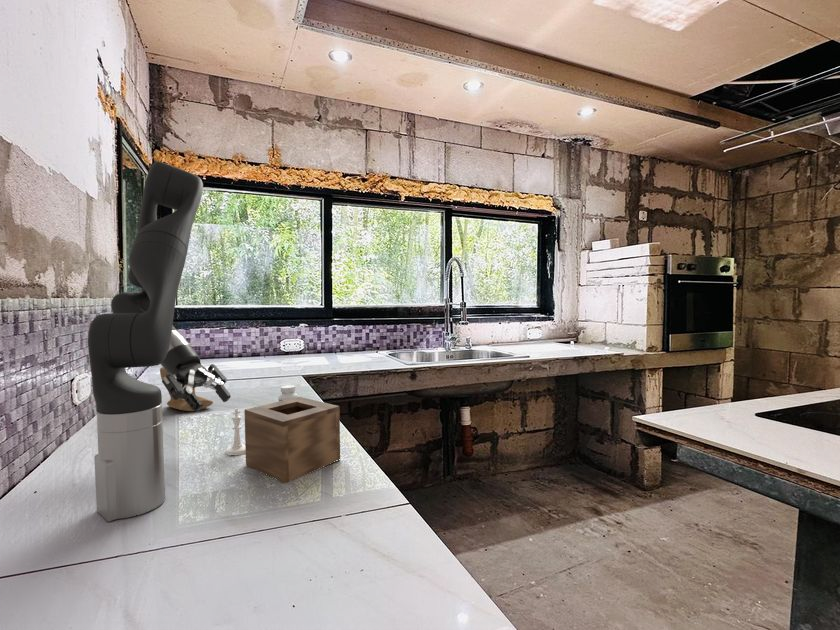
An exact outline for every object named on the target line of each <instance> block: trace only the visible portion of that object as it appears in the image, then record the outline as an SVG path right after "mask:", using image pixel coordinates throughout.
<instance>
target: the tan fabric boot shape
mask: <svg viewBox="0 0 840 630" xmlns="http://www.w3.org/2000/svg"><path fill="white" fill-rule="evenodd" d="M159 373H160V374H159V375H160V379H161V381H162V380H163V379H164V377H165V376H166V375H167V372H166V370H165V369H164V368H163V367H160V369H159ZM179 385H180V386H181V384H180V383H179ZM175 391H176V389H175ZM176 392H177V391H176ZM192 393H194V394H195V395H196V396H197V398H198V399H199V400H200V402H201V403H202V404H203V406H202V408H201V409H200V410H199V411H201V410H203V409H206V408H208V407H210V406H212V405H213V404H214V401H213V400H210V399H208V398H205V397H200V396H198V395H197V394H196V387H195V388H193V389H192ZM168 394H169V397H170V399H169V400H168V401H167V402H166V405H167V406H168V407H169V408H172V409H177V410H179V411H185V412H195V411H194V410H193V409H192V408H191V407H190V406H189V405H188V403H187V402H186V401H185V400H183V399H178V400H175V399H173V397H172V396H171V394H170V393H169V392H168Z"/></svg>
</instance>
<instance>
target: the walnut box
mask: <svg viewBox="0 0 840 630" xmlns="http://www.w3.org/2000/svg"><path fill="white" fill-rule="evenodd" d="M243 410H244V442H245V444H244V445H245V451H246V453H245V466H246V465H247V466H246V467H248V468H251V469H253V470H255V471H257V472H260V473H261V472H262V473H261V474H263V473H264V475H266V474H267V475H266V476H268V475H269V476H268V477H270V476H271V478H272V477H274V478H276V479H277V481H278V480H279V481H278V482H281V483H283V484H286V483H289V482H291V481H293V479H294V480H296V479H298V477H299V478H301V477H303V475H304V476H306V475H308V473H309V474H311V473H313V472H315V471H314V470H316V471H318V470H320V469H319V468H321V467H323V466H326V465H328V464H330V463H332V462H334V461H336V460H339V459H340V460H341V425H340V424H341V422H340V420H341V419H340V418H341V417H340V416H341V415H340V413H341V412H340V405H336V404H332V403H327V402H325V401H319V400H315V399H311V398H306V397H303V396H298V397H297V398H292V399H288V400H284V401H279V400H278V401H276V402H272V403H267V404H263V405H258V406H255V407H249V408H245V409H243ZM328 466H329V465H328ZM326 467H327V466H326ZM323 468H324V467H323ZM317 469H318V470H317ZM321 469H322V468H321ZM312 471H313V472H312ZM310 472H311V473H310ZM274 478H273V479H274ZM295 478H296V479H295ZM276 479H275V480H276ZM290 480H291V481H290Z"/></svg>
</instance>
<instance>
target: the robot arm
mask: <svg viewBox="0 0 840 630" xmlns="http://www.w3.org/2000/svg"><path fill="white" fill-rule="evenodd" d="M203 189H204V183H203V181H202V179H201V177H199V176H198V175H196V174H194V173H193V172H190V171H187V170H184V169H182V168H180V167H177V166H174V165H171V164H168V163H166V162H163V161H160V160H159V161H155V162H153V163H152V164H151V167H150V168H149V170H148V173H147V175H146V179H145V182H144V188H143V192H142V200H141V206H140V212H139V219H138V227H137V234H136V236H135V239H134V241H133V244H132V246H131V247H132V248H131V251H130V253H129V258H128V262H129V271H128V273H127V274H128V275H127V277H128V278H127V279H128V282H130V284H131V285H133V286H135V287H137V288H141V290H137V291H123V292H119V293H116V294H115V295H113V298H112V299H111V302H110V307H111V311H112V312H111V313H102V314H101V313H100V314H99V315H97V316H95V317H94V318H93V320H92V321H91V323H90V326H89V329H88V333H87V336H88V337H87V346H88V347H87V349H88V359H89V364H90V365H89V366H90V373H91V374H90V375H91V385H92V394H93V398H94V402H95V409H96V429H97V430H96V431H97V432H96V433H97V434H96V435H97V447H98V448H97V451H98V453H97V454H95V455H94V456H93V457H94V461H93V462H94V478H95V479H94V480H95V501H96V503H95V504H96V505H95V506H96V511H97V512H98V513H99V514H100V515H101V516H102V518H104V520H106V522H112V521H115V520H118V519H119V520H121V519H127V518H132V517H136V515H137V516H141V515H143V514H145V513H147V512H150V511H153V510H155V509H156V508H158V507H159V506H160V505H162V504H163V503H164V502H165V500H166V481H165V480H166V479H165V453H164V452H165V449H164V429H163V428H164V427H163V426H164V424H163V423H164V422H163V403H162V402H163V400H162V398H163V397H162V396H163V395H162V390H161V388H159V387H158V386H157V385H154V384H151V383H148V382H144V381H141V380H138V379H137V378H134V377H132V376H131V375H130V374H129V373H127V371H126V368H127V369H128V368H147V367H148V368H149V367H150V368H151V367H155V366H159V365H161V366H162V367H163V368H164V369H165V370H166V372H167V375H166V376H165V377H164V379H163V380H162V379H161V382H162V384H163V386H164V387H165V389H166V390H167V393H168V394H169V393H170V394H171V396H172V397H173V399H175V400H178V399H183V400H185V401H186V402H187V403H188V405H189V406H190V407H191V408H192V409H193V410H194V411H193V412H198V411H201V410H202V409H201V408H202V406H203V404H202V403H201V402H200V400H199V399H198V398H197V396H198V395H197V394H196V393H195V394H196V395H195V394H194V393H192V389H193V388H195V389H196V388H201V387H203V388H205V389H209V388H210V389H212V390H213V391H215V393H216V394H217V396H218V397H219V398H220V400H221V401H222V402H223V403H226V402H228V401H229V400H230V398H231V393H230V392H229V391H228V390H227V388H226V387H225V386H224V385H225V384H226V383H227V382H228V378H227V377H226V376H225V375H224V374H223V372H222V371H221V370H220V369H219V368H218V367H217V365H215V364H214V363H211V364H209V366H207V367H206V366H203V364H202V363H201V357H200V356H199V354H198V353H197V352H196V350H194V348H193V347H192V346H191V344H190V343H189V342H188V340H187V339H186V338H185V337H184V336H183V335H182V334H181V333H180V332H179V331H178V330H177V329H176V327H175V326H174V325H173V322H174V316H175V308H176V302H177V295H178V291H179V290H178V289H179V286H180V283H181V279H182V275H183V271H184V267H185V264H186V259H187V256H188V251H189V250H188V249H189V244H190V238H191V233H192V228H193V225H194V222H195V218H196V215H197V212H198V209H199V206H200V204H201V199H202V195H203V191H204V190H203ZM158 205H160V206H163V207H166V208H169V209H171V210H175V211H173V212H172V213H170V214H167V215H165V216H163V217H160V218H158V216H157V213H158ZM179 383H180V384H181V386H180V385H179ZM175 389H176V391H177V392H176V391H175ZM170 394H169V395H170ZM200 409H201V410H200Z"/></svg>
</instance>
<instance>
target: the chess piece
mask: <svg viewBox="0 0 840 630" xmlns="http://www.w3.org/2000/svg"><path fill="white" fill-rule="evenodd" d="M239 414H241V410H239V409H238V408H234V412H232V415H234V416H232V417H231V421H232V423H233V426H232V427H231V430H234V435H233V443H232V445H231V446H229V447H227V448H226V450H225V454H226V455H227V456H231V455H235V456H240V455H244V454H246V451H245V444H243V442H242V441H241V433H240V430H241V429H242V428H243V427H242V425H240V424H241V420H242V416H240V415H239Z"/></svg>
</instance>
